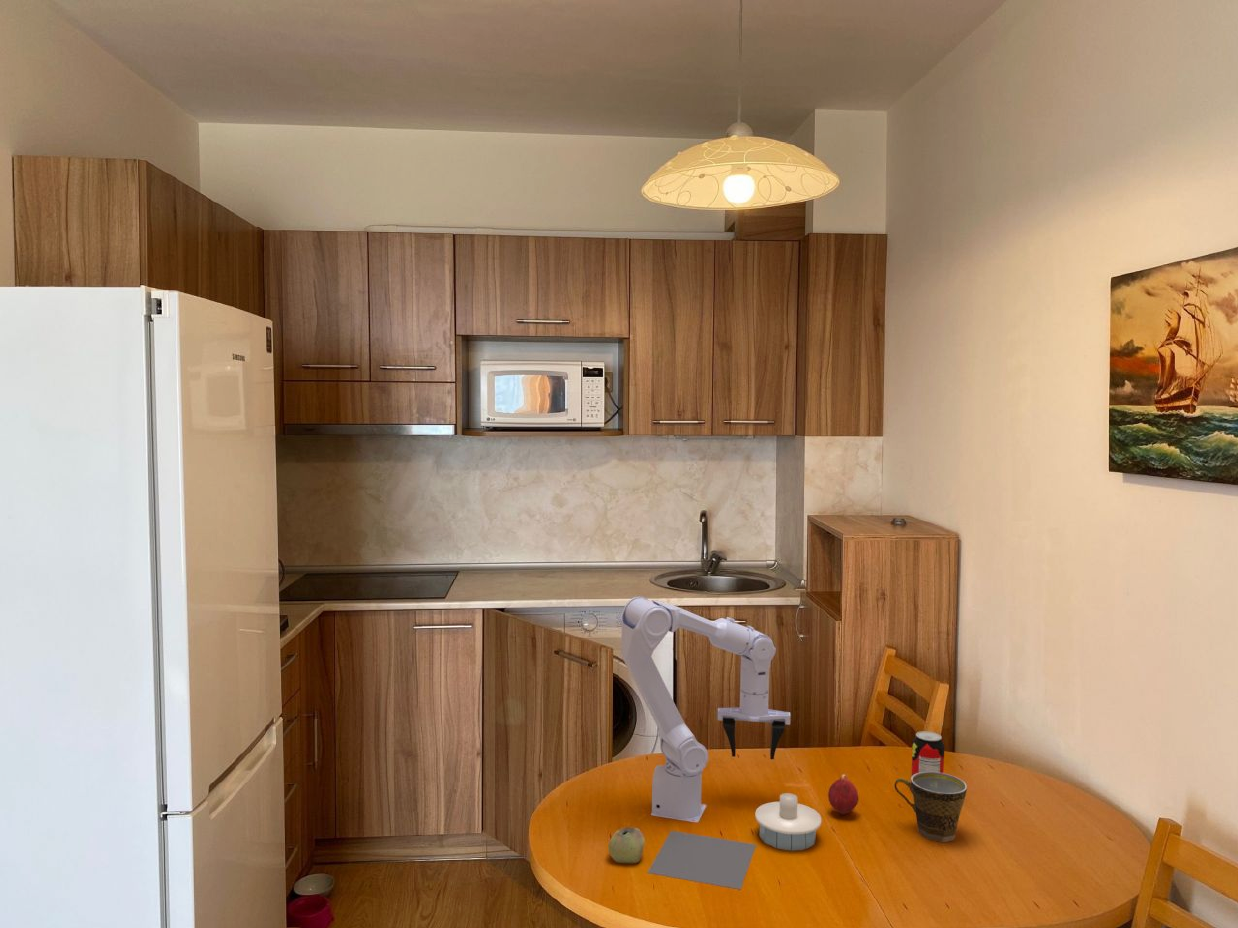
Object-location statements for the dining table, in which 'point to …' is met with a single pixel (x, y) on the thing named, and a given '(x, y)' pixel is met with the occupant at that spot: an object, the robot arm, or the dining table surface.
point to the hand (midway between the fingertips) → (752, 755)
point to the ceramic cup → (936, 803)
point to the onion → (843, 795)
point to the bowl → (787, 839)
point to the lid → (788, 816)
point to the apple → (627, 845)
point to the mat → (703, 859)
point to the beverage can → (927, 753)
